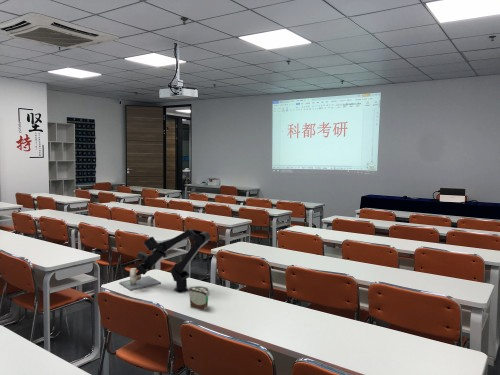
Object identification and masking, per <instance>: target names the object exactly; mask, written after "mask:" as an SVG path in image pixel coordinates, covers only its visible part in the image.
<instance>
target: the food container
mask: <svg viewBox="0 0 500 375" xmlns="http://www.w3.org/2000/svg"><path fill="white" fill-rule="evenodd" d="M187 292H188V294H189V295H188V296H189V305H190V308H192V309H194V310H195V309H196V310H198V311H202V312H206V311H207V310H208V303H209V296H210V294H211V293H210V289H209V288H208V287H206V286H202V285H201V286H200V285H195V286H194V285H193V286H191V287H189V288H188V291H187Z"/></svg>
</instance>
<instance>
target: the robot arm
mask: <svg viewBox="0 0 500 375" xmlns="http://www.w3.org/2000/svg"><path fill="white" fill-rule="evenodd" d="M188 238H190V239H192V240H193V241H194V242H193V245H192V246H191V248H190V249H189V250H188V252H187V253H186V254H185V256H184V257H183V259H182V260H180V261H178V262H175V263H174V265H173V267H172V268H171V271H170V274H171V276H172V278H173V281H174V282H175V288H173V290H174V291H176V292H177V293H183V291H184V292H188V291H187V290H188V289H189V288H188V284H187V282H188V281H187V279H188V278H190V274H189V272H188V271H187V270H188V266H189V264H190V263H191V262H192V260H194V258H195V256H196V255H197V254H198V252H199V251H200V250H201V248H202V247H204V246H205V245H206V244H207V243H208V242H209V241H210V240H211V234H210V233H209V232H208V231H203V230H197V229H194V228H189V229H187V230H186V231H184V232H182V233H180V234H178V235H177V236H175V237H173V238H170V239H166V240H164V241H162V242H158V241H157V240H156V239H155V237H154V236H150V237H149V238H148V239H147V240H145V241H144V242H143V245H144V246H145V248H146V249H147V250H148V251H149V252H151V251H152V253H150V254H147V253H146V252H144V251H142V250H141V251H140V250H139V252H138V253H137V254H136V259H138V260H141V261H142V262H140V263H139V264H138V265H137V266H136V267H135V268H136V270H138V271H136V275H137V276H138V275H141V276H142V275H143V276H144V275H146V274H147V273H148V271H150V270H151V268H153V267H155V265H156V263H157V262H159V261H160V259H162V258H164V259H165V258H168V251H170V250H172V249H173V248H174V247H176V245H177V244H178V243H181V242H183V241H185V240H186V239H188Z"/></svg>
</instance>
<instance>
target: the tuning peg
mask: <svg viewBox="0 0 500 375" xmlns="http://www.w3.org/2000/svg"><path fill="white" fill-rule="evenodd" d="M136 273H137V268H136V267H132V268H129V280H130V285H136V284H137V280H140V279H141V277H142V274H141V275H138V276H137V275H136Z"/></svg>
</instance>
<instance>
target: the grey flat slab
mask: <svg viewBox="0 0 500 375" xmlns="http://www.w3.org/2000/svg"><path fill="white" fill-rule="evenodd" d="M118 284H119V285H121V286H122V287H123V288H126V289H127V290H129V291H130V292H133V291H137V290H139V289H145V288H149V287H153V286H158V285H162V282H161V281H159V280H157V279H156V278H153V277H152V276H150V275H147V276H141V279H140V280H137V284H136V285H130V279H127V280H122V281H119V283H118Z"/></svg>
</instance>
